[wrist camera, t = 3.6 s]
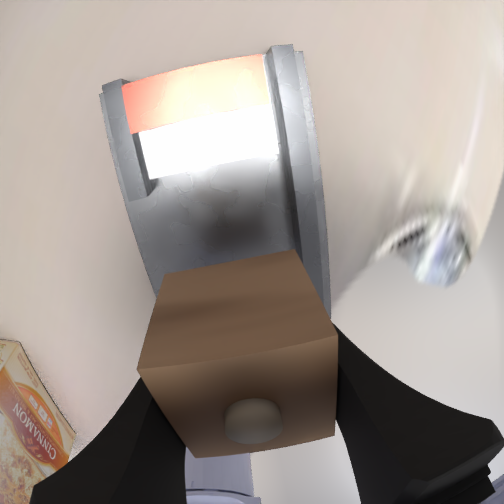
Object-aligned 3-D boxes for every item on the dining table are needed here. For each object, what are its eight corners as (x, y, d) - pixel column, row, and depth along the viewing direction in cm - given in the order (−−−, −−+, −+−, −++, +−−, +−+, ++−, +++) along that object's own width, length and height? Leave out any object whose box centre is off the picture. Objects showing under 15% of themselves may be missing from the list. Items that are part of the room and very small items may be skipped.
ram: (268, 146, 15) (291, 161, 10) (162, 168, 15) (134, 193, 10) (255, 72, 14) (272, 50, 9) (147, 95, 13) (110, 86, 8)
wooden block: (305, 346, 14) (338, 448, 9) (198, 365, 14) (195, 471, 8) (294, 249, 11) (346, 351, 6) (164, 274, 11) (132, 386, 6)
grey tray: (328, 314, 21) (347, 351, 18) (177, 342, 21) (171, 383, 17) (300, 52, 14) (322, 36, 10) (102, 94, 14) (70, 90, 10)
